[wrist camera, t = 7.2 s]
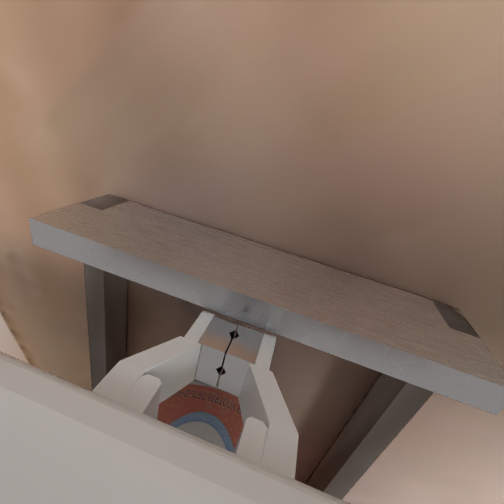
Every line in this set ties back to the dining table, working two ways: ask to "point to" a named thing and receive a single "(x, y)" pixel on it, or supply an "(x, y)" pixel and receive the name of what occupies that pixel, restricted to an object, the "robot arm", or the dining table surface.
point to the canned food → (204, 414)
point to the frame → (278, 315)
